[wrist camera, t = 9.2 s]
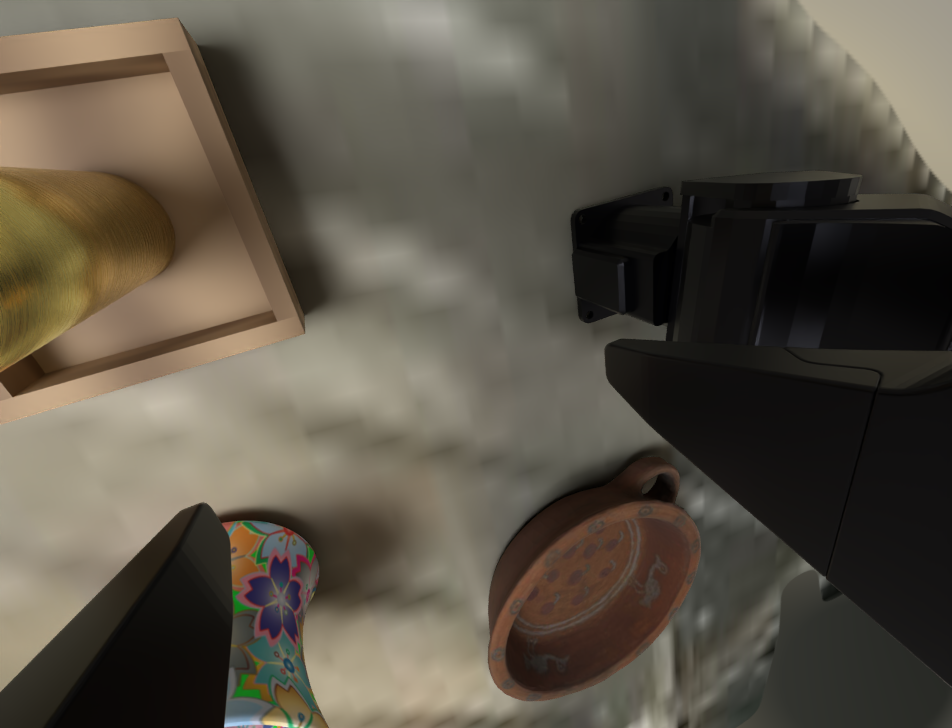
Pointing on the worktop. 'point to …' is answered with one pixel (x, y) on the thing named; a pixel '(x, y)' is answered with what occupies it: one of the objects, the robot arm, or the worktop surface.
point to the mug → (270, 628)
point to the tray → (168, 180)
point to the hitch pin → (71, 250)
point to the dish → (590, 584)
